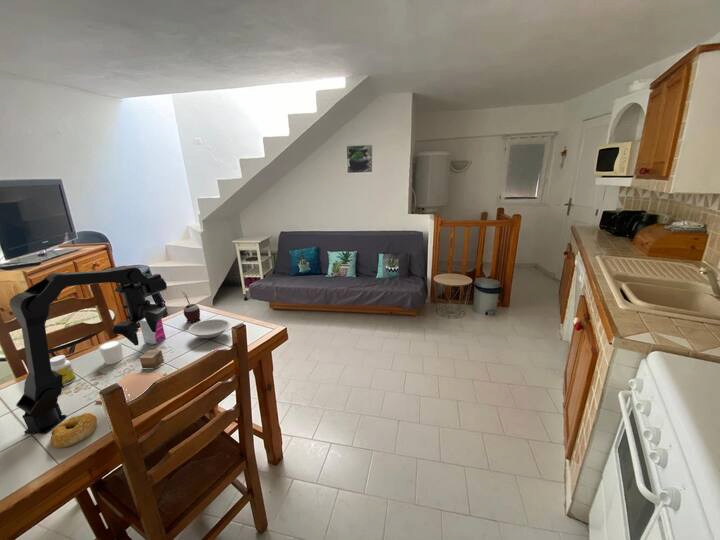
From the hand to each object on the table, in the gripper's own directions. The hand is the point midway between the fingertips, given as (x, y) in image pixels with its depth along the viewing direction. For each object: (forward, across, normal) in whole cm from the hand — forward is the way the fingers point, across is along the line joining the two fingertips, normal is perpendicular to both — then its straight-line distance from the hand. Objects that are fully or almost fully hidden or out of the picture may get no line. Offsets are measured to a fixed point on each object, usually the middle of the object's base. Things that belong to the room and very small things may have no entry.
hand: (145, 338), depth 111 cm
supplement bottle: (+12, -10, +25) cm, 29 cm away
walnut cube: (+12, 0, 0) cm, 12 cm away
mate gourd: (+12, +36, +5) cm, 38 cm away
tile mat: (+12, -13, -2) cm, 18 cm away
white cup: (+12, +3, +18) cm, 22 cm away
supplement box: (+12, +17, +11) cm, 24 cm away
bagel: (+12, -32, 0) cm, 34 cm away
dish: (+12, +21, -12) cm, 27 cm away
